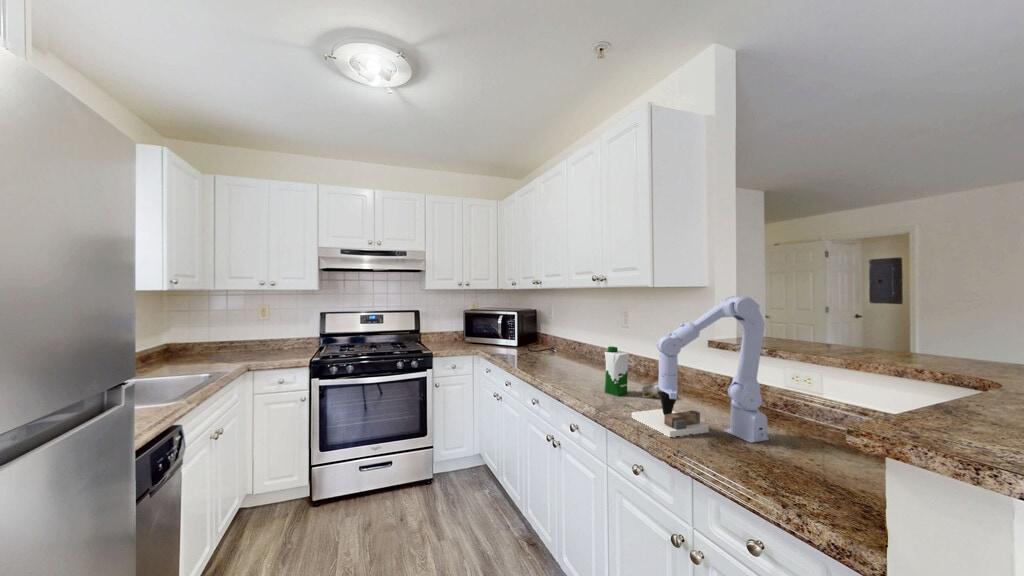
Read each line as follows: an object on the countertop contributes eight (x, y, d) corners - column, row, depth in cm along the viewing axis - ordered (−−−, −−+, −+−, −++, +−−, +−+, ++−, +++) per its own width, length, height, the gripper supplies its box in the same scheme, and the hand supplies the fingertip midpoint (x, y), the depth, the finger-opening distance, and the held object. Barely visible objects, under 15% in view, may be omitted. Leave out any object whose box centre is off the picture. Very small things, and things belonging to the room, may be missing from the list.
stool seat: (708, 432, 117) (709, 418, 117) (669, 438, 111) (670, 423, 111) (667, 413, 133) (667, 401, 133) (631, 418, 128) (631, 405, 128)
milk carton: (612, 389, 165) (613, 345, 165) (630, 393, 159) (631, 348, 159) (601, 392, 160) (602, 347, 160) (619, 397, 153) (620, 350, 153)
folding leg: (693, 419, 122) (693, 410, 122) (702, 422, 119) (702, 413, 119) (663, 423, 117) (664, 414, 117) (672, 427, 114) (672, 417, 114)
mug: (642, 393, 162) (655, 374, 160) (661, 407, 155) (674, 388, 154) (636, 392, 156) (649, 373, 155) (655, 407, 150) (668, 387, 148)
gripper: (650, 368, 127) (649, 406, 126) (660, 377, 112) (659, 421, 112) (671, 369, 125) (671, 408, 125) (684, 379, 111) (683, 423, 111)
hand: (667, 414), depth 119 cm, fingers closed
